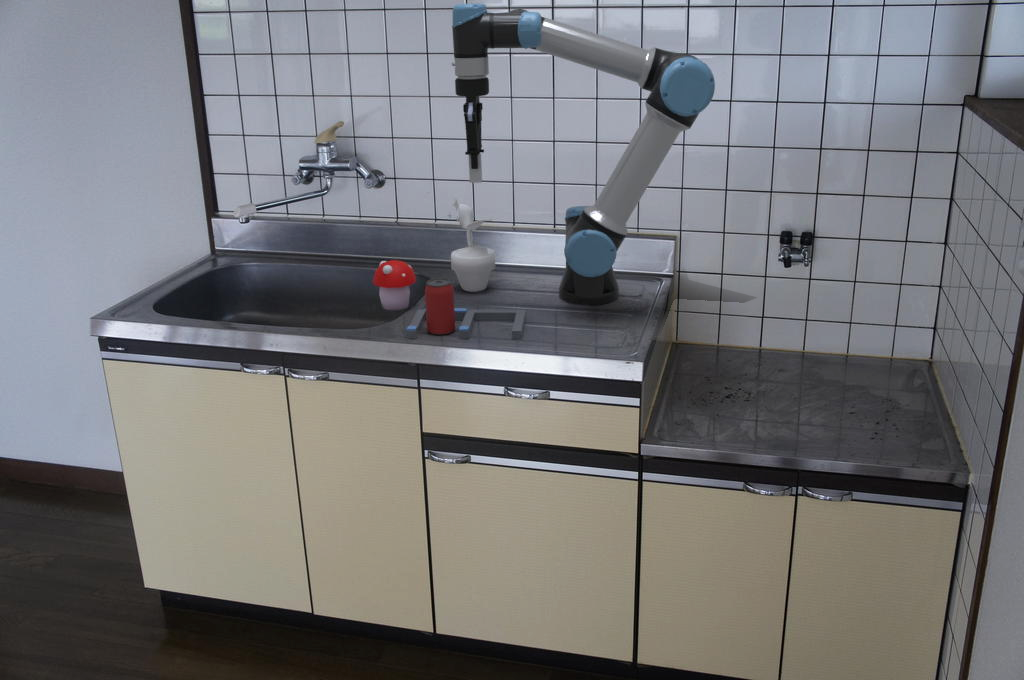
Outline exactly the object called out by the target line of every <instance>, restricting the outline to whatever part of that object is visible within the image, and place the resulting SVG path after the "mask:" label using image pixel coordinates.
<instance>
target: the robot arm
mask: <svg viewBox="0 0 1024 680" xmlns="http://www.w3.org/2000/svg"><path fill="white" fill-rule="evenodd" d="M451 27H452V41H453V43H452V44H453V58H454V60H453V61H452V63H451V66H453V67H454V75H455V77H456V78H455V80H454V87H455V95H456V96H458V97H465V103H464V104H463V107H462V109H463V117H464V124H465V125H464V126H465V135H466V136H465V137H466V151H465V152H464V153H465V155H467V156H468V174H469V183H470V184H474V183H475V184H476V183H477V184H478V183H479V184H480V183H481V184H482V182H483V173H482V153H484V152H485V149H484V148H483V145H482V142H483V141H482V121H483V118H482V117H483V116H482V115H483V114H482V112H483V111H482V110H483V107H484V106H483V102H481V100H480V97H482V96H483V97H484V96H487V95H488V94H489V93H490V79H489V78H488V77H487V76H488V75H489V74H490V72H489V71H490V70H489V53H488V49H492V50H493V49H494V50H495V49H525V50H527V49H531V50H535V51H538V52H542V53H544V54H548V55H551V56H554V57H557V58H560V59H563V60H565V61H566V60H567V61H570V62H572V63H574V64H578V65H581V66H585V67H587V68H590V69H594V70H596V71H597V70H598V71H600V72H602V73H603V72H604V73H605V74H606V73H607V74H610V75H613V76H616V77H619V78H622V79H625V80H629V81H632V82H634V83H636V84H638V86H639V88H640V89H642V90H645V91H648V92H650V93H649V95H648V97H647V99H646V100H645V102H644V104H645V109H646V114H645V115H644V118H643V119H642V121H641V122H640V124H639V126H638V128H637V129H636V132H635V133H634V134H633V136H632V138H631V140H630V142H629V143H628V144H627V147H626V148H625V150H624V152H623V154H622V155H621V157H620V159H619V161H618V162H617V164H616V166H615V168H614V169H613V171H612V173H611V174H610V177H609V178H608V179H607V182H606V183H605V185H604V187H603V188H602V190H601V192H600V194H599V196H597V199H596V201H595V203H594V204H593V205H581V206H572V207H571V206H570V207H569V208H567V209H566V211H565V217H564V221H565V242H564V243H565V245H564V248H563V249H564V257H565V268H564V271H563V275H562V278H561V281H560V284H559V287H558V288H559V289H558V297H559V299H561V300H562V301H564V302H566V303H570V304H574V305H581V306H596V305H605V304H609V303H612V302H614V301H616V300H617V299H619V297H620V292H619V291H620V288H619V284H618V283H619V282H618V280H617V277H616V274H615V271H614V268H613V265H614V264H615V262H616V259H617V252H618V251H619V249H620V247H621V245H622V244H623V242H624V240H625V239H626V237H627V235H628V234H629V233H628V232H629V231H628V227H627V223H628V221H629V219H630V217H631V215H632V214H633V212H634V210H635V209H636V207H637V205H638V203H639V202H640V201H641V198H643V196H644V194H645V192H646V190H647V189H648V187H649V185H650V184H651V182H652V181H653V178H654V177H655V175H656V174H657V172H658V170H659V168H660V167H661V165H662V163H663V162H664V160H665V159H666V157H667V155H668V153H669V151H670V150H671V148H672V147H673V145H674V143H675V142H676V140H677V139H678V137H679V135H680V133H682V132H683V131H687V130H690V129H691V128H692V126H693V124H694V123H695V121H697V120H696V119H697V118H698V117H699V114H700V113H702V112H703V111H704V110H705V109H706V108H707V107H708V106H710V104H711V101H712V100H713V97H714V94H715V90H716V85H715V84H716V81H715V77H714V74H713V72H712V70H711V68H710V67H709V66H708V65H707V63H706V62H703V60H701V59H699V58H698V57H696V56H695V55H692V54H688V53H681V52H676V51H668V50H665V49H661V48H657V47H652V48H650V49H646V48H642V47H639V46H636V45H633V44H629V43H627V42H624V41H621V40H617V39H615V38H614V39H613V38H611V37H607V36H604V35H603V34H599V33H595V32H592V31H589V30H586V29H583V28H580V27H576V26H573V25H570V24H567V23H565V22H560V21H557V20H554V19H552V18H548V17H543V16H542V15H541V14H540V12H538V11H530V10H529V11H528V10H526V9H523V8H515V9H512V10H510V11H509V12H507V11H506V12H492V11H491V12H488V10H487V5H486V4H485V3H478V2H477V3H458V4H456V5H454V6H453V8H452V25H451ZM482 148H483V149H482Z"/></svg>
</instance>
